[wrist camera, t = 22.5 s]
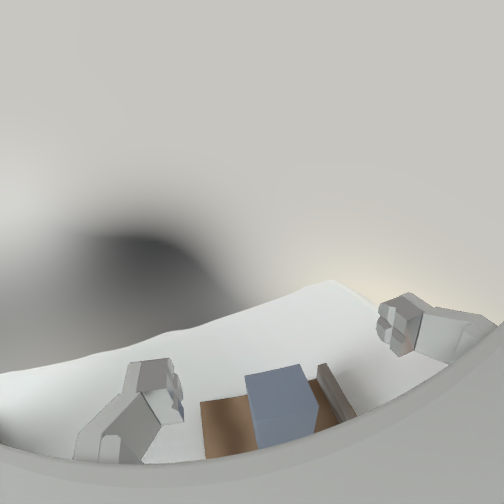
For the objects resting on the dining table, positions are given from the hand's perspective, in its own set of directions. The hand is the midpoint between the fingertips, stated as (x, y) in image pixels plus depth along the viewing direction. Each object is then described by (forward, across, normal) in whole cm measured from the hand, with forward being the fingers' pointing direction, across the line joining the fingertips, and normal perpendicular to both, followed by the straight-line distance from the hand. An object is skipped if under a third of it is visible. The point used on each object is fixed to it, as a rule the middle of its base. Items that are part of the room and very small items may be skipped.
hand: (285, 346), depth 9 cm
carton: (+8, -1, +24) cm, 26 cm away
